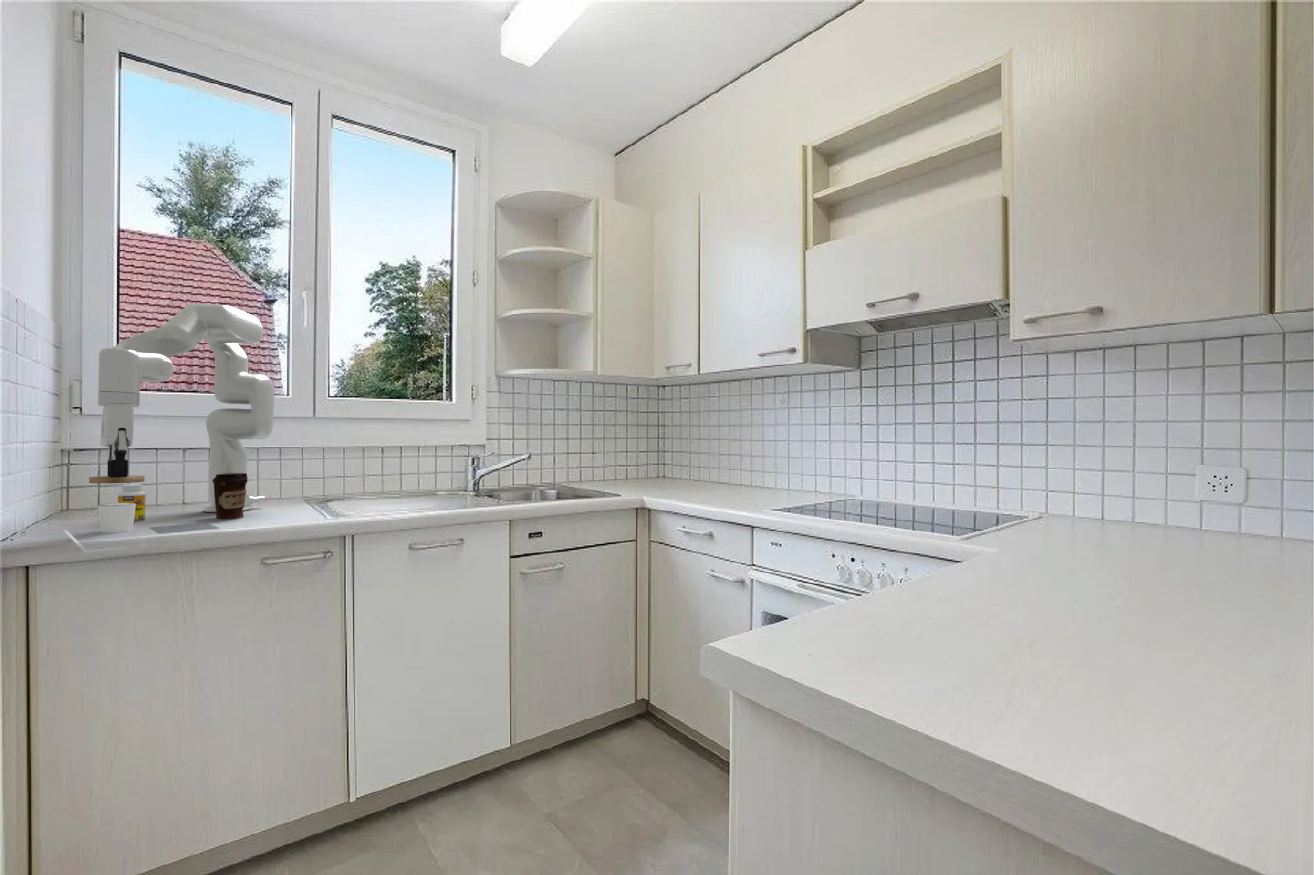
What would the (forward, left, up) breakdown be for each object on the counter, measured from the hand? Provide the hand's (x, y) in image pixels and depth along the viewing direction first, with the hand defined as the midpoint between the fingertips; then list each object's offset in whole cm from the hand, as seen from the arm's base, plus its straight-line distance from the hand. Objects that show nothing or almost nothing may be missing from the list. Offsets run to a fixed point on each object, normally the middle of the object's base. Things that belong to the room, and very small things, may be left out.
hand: (117, 476), depth 147 cm
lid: (0, 0, -1) cm, 1 cm away
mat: (-12, +5, -14) cm, 19 cm away
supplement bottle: (-5, -17, -14) cm, 23 cm away
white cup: (0, 0, -14) cm, 14 cm away
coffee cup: (-25, -8, -14) cm, 30 cm away
